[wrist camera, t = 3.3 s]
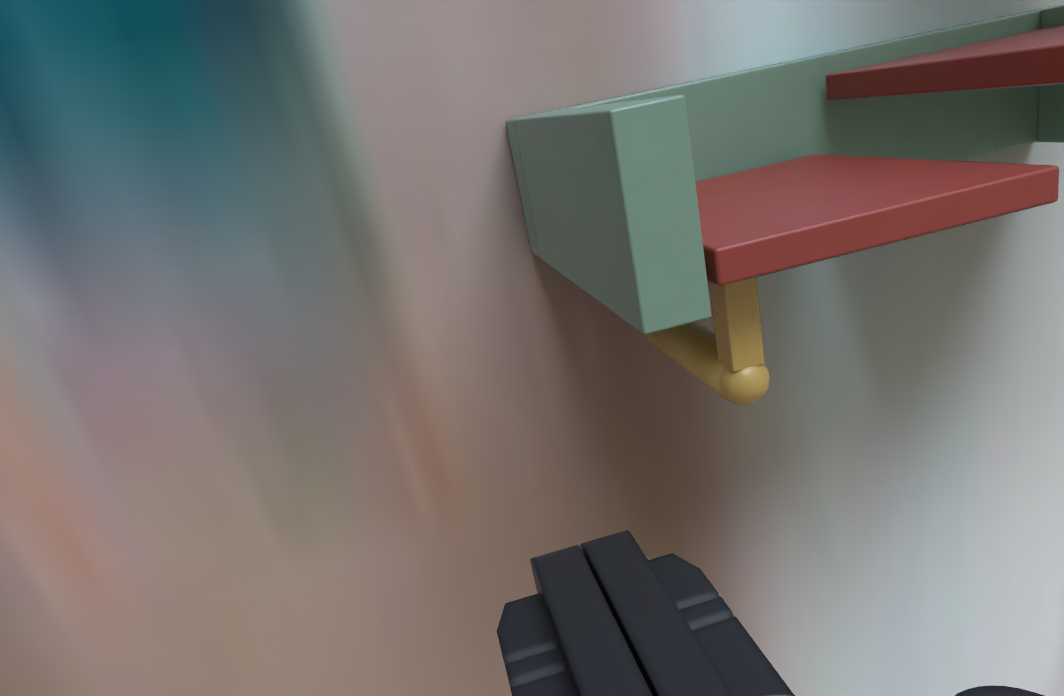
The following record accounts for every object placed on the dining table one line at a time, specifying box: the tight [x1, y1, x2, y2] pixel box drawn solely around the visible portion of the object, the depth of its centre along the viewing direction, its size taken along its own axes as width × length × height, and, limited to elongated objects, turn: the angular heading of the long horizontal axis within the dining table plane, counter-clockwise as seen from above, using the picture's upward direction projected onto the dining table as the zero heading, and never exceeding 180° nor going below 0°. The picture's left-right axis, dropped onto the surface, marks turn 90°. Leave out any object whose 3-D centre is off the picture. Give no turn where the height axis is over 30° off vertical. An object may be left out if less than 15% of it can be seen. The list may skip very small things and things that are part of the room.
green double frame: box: [506, 5, 1064, 334], centre depth 21 cm, size 4×20×11 cm, turn 102°
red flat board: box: [644, 154, 1059, 405], centre depth 20 cm, size 4×8×9 cm, turn 102°
